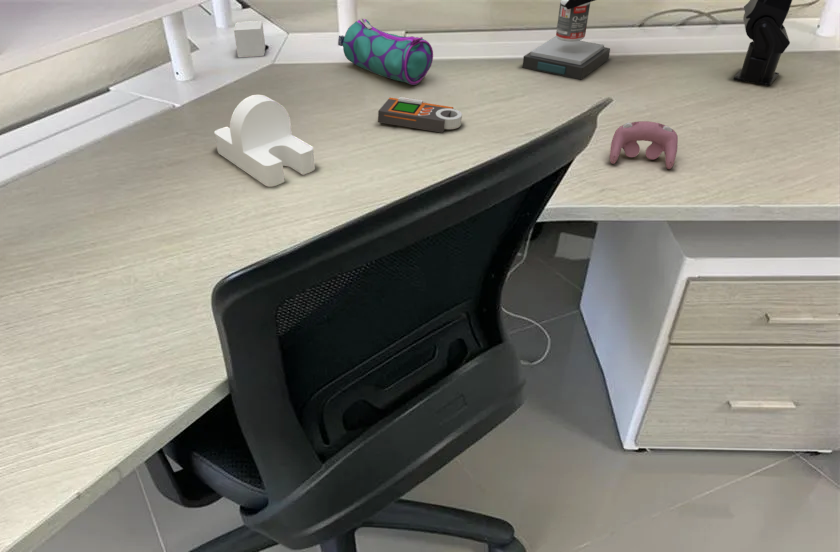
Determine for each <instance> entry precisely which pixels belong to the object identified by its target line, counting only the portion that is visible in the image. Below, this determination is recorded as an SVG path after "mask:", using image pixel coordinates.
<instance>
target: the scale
mask: <svg viewBox="0 0 840 552" xmlns="http://www.w3.org/2000/svg"><path fill="white" fill-rule="evenodd" d="M610 53H611V47H606V46H605V44H603V43H596V42H592V41H591V42H590V41H585V40H580V41H574V42H568V41H562V40H559V39H558V38H557V37H556V35H554V36H552V38H550V39H548V40H547V41H545V42H544V43H542V44H541V45H539V46H537V47H536V48H534V49H532V50H531V51H530V52H528V53H527V54H524V55H523V58H522V66H521V67H522V68H523V69H526V70H531V71H532V70H533V71H537V72H542V73H547V74H552V75H557V76H561V77H567V78H570V79H576V80H580V81H581V80H583V79H584V78H585V77H587V76H588V75H590V74H591V73H593V71H595V70H596V69H598V68H600V67H601V66H602V65H603V64H605V63H606V62H607V61H608V60H609V58H610Z"/></svg>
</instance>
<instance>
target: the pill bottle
mask: <svg viewBox="0 0 840 552" xmlns="http://www.w3.org/2000/svg"><path fill="white" fill-rule="evenodd" d="M567 2H568V0H560V2H559V9H558V16H557V24H556V31H555V33H556V34H555V36H556V37H557V38H558V39H559V40H562V41H568V42H574V41H583V40H584V39H585V37H586V35H587V34H586V33H587V26H588V21H589V14H590V8H591V2H589V3H586V4H583V5H580V6H577V7H574V8H571V9H567V8H566V7H565V4H566V3H567Z"/></svg>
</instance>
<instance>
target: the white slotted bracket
mask: <svg viewBox="0 0 840 552" xmlns="http://www.w3.org/2000/svg"><path fill="white" fill-rule="evenodd" d="M213 133H214V138H215V144H216V149H217V154H219V155H220V156H222V157H223V158H225V159H226V160H228V161H229V162H230V163H232V164H233V165H234V166H236V167H237V168H239V169H241V170H242V171H243V172H245V173H246V174H248V175H249V176H251V177H252V178H254V179H255V180H256V181H258V182H259V183H261V184H262V185H264V186H266V187H268V188H271V187H272V188H274V187H276V186H278V185H281V184H284V183H285V182H286V181H285V172H284V167H288V168H291V169H293V170H294V171H296V172H297V173H299V174H301V175H302V176H304V175H307V174H309V173H311V172H314V171H315V170H316V164H315V154H314V152H315V151H314V146H312V145H310V144H309V143H307V142H306V141H303V140H302V139H300V138H299V137H296V136H295V135H294V134H293V133H292V123H291V118H290V114H289V111H288V110H287V109H286V107H284V105H282V104H281V103H279V102H278V101H276V100H274V99H272V98H270V97H268V96H266V95H264V94H252V95H249V96H247V97H245V98H244V99H242V100H241V101H240V102H239V103H238V104H237V106H236V107H235V108H234V110H233V113H232V115H231V116H230V122H229V127H228V126H224V127H221V128H217V129H215V130H214V131H213Z"/></svg>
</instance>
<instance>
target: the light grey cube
mask: <svg viewBox="0 0 840 552" xmlns="http://www.w3.org/2000/svg"><path fill="white" fill-rule="evenodd" d="M233 33H234V39H235V47H236V54H237V58H250V57H264V56H265V53H266V40H265V33H264V23H263V20H249V21H248V20H247V21H236V23H235V26H234V29H233Z"/></svg>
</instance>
